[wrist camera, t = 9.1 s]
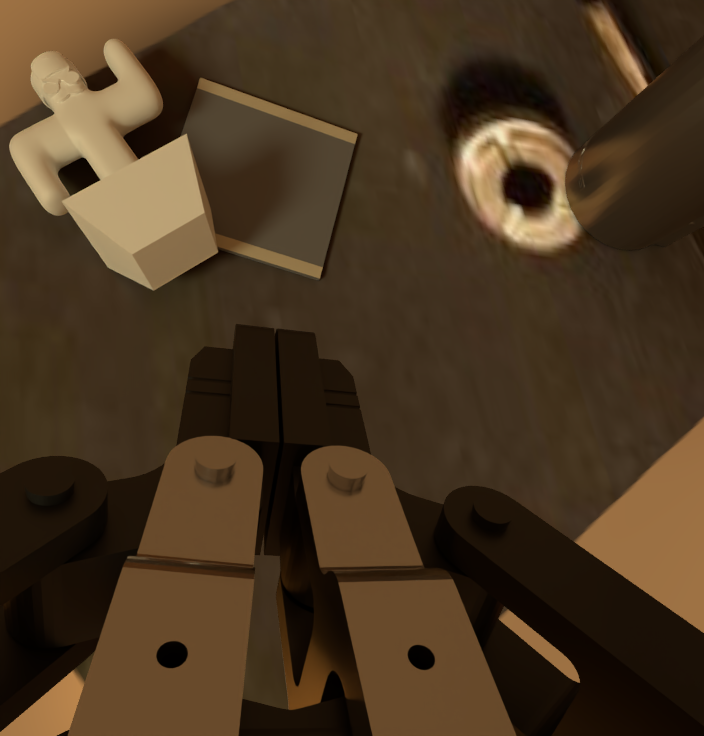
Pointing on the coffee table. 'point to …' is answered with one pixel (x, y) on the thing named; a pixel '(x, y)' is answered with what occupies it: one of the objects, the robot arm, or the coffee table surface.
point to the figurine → (116, 170)
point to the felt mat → (268, 177)
